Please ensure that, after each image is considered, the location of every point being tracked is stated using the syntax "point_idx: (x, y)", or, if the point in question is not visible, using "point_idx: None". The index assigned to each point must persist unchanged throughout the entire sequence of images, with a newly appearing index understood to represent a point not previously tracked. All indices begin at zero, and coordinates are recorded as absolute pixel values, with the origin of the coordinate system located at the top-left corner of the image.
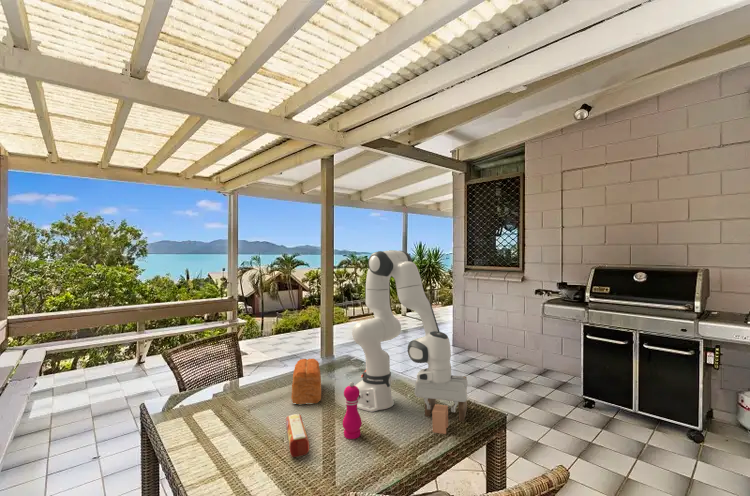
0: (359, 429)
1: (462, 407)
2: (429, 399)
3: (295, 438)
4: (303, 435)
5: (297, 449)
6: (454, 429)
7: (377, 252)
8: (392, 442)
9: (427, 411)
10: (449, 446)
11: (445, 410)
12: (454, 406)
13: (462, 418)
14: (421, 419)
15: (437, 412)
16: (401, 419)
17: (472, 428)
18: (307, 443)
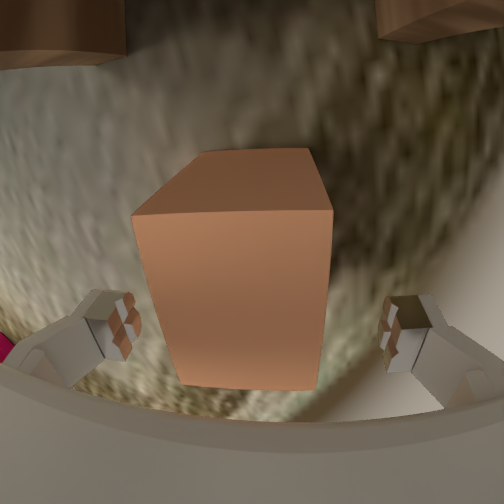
0: (3, 354)
1: (468, 27)
2: (28, 49)
3: None
4: None
5: None
6: (360, 188)
7: None
8: (105, 375)
9: (89, 58)
10: (335, 363)
11: (312, 353)
12: (430, 390)
13: (415, 40)
14: (89, 127)
15: (234, 382)
16: (13, 187)
17: (473, 142)
18: None
